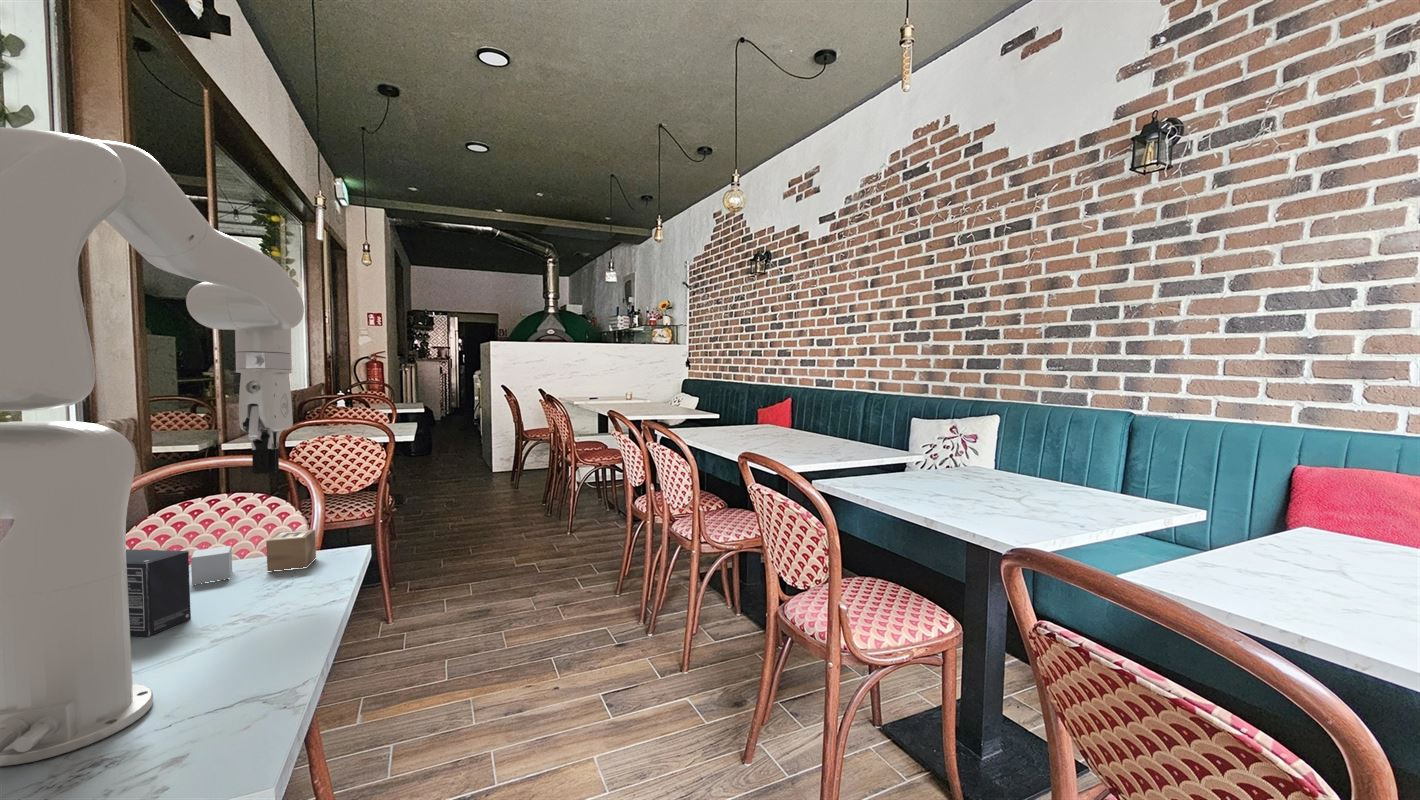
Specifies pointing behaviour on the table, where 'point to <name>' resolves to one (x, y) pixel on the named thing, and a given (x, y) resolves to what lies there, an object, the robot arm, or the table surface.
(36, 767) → the table surface
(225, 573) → the grey block
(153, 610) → the small box
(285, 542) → the walnut cube
